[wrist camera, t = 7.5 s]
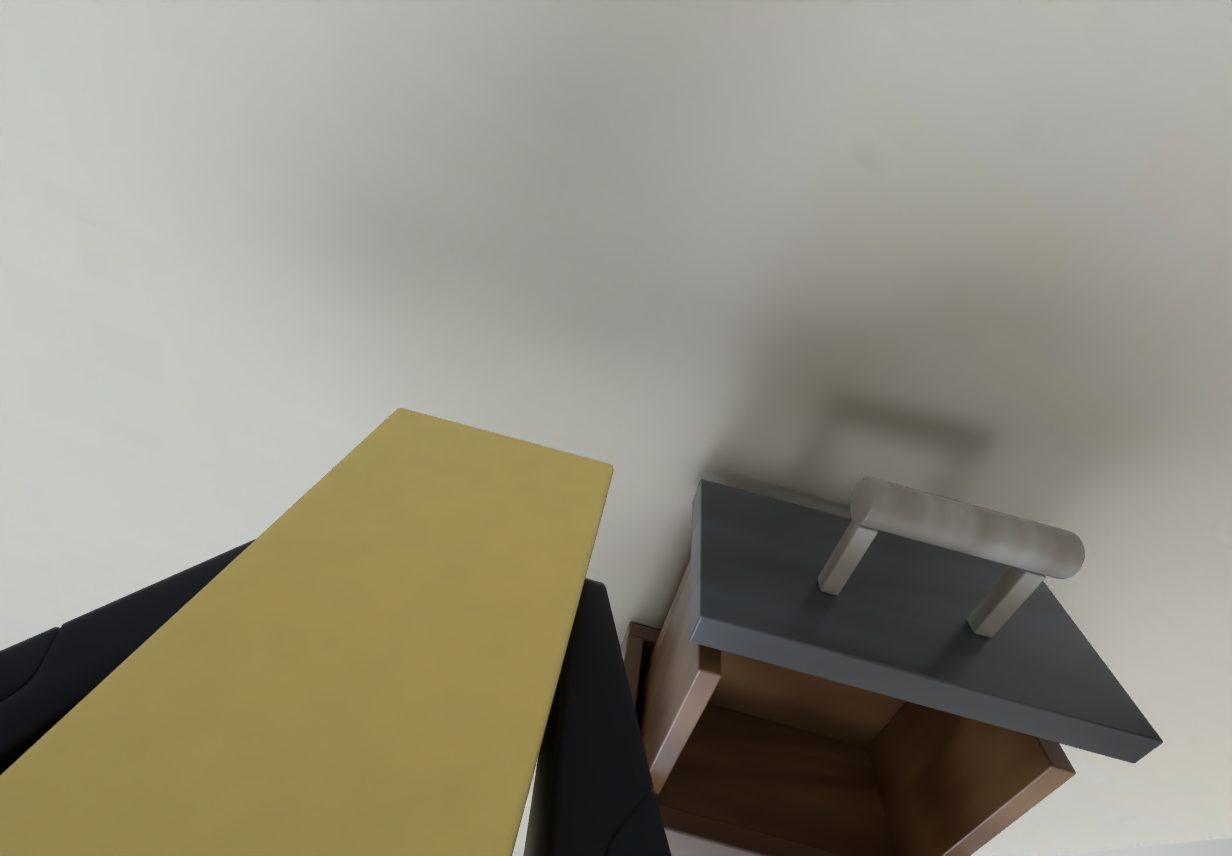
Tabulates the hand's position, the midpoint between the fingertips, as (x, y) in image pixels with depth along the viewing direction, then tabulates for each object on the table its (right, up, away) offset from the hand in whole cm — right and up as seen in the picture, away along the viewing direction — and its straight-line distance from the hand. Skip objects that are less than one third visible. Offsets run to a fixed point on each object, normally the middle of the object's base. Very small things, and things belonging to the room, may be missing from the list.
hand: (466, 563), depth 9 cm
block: (0, +1, +1) cm, 2 cm away
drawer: (+11, -5, +14) cm, 19 cm away
